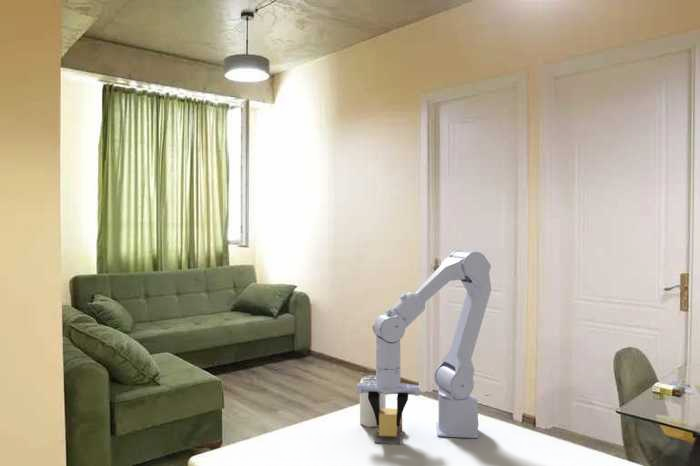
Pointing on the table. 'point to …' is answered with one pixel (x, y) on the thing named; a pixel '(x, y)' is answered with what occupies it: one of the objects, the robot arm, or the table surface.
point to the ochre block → (387, 422)
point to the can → (365, 407)
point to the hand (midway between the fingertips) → (388, 424)
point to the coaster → (388, 439)
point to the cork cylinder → (399, 428)
